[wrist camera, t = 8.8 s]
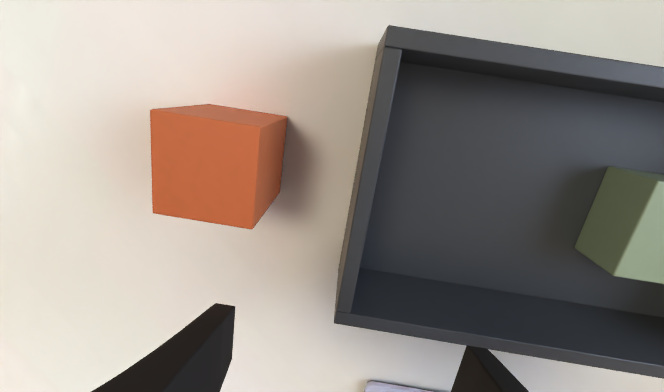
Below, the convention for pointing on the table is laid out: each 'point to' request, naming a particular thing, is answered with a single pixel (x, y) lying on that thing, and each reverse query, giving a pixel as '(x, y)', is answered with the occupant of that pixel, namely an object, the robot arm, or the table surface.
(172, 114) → the terracotta block
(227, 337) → the robot arm
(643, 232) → the sage block
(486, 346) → the tub
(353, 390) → the table surface
